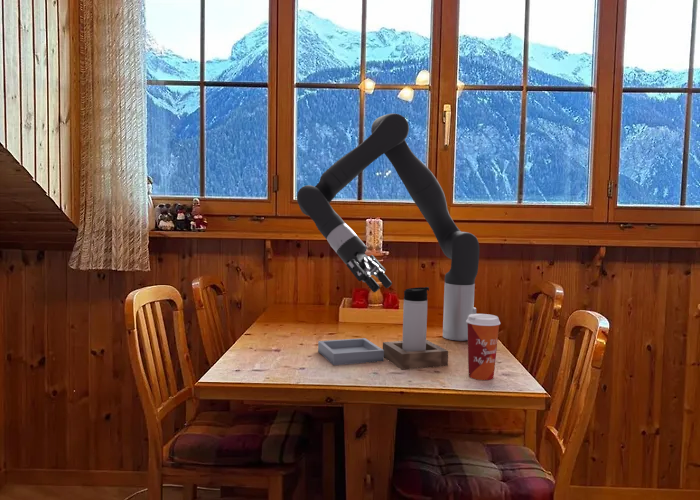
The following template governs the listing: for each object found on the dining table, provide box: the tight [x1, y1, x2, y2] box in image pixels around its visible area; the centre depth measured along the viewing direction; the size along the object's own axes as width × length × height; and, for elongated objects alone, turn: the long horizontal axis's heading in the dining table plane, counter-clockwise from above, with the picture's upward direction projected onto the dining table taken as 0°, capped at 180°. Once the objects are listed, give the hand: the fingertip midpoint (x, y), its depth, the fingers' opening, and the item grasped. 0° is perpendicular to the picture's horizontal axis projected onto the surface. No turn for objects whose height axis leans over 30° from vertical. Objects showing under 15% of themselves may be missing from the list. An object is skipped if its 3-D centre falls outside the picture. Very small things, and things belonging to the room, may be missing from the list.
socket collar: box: [382, 339, 449, 371], centre depth 159 cm, size 13×13×4 cm
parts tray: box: [317, 337, 385, 366], centre depth 162 cm, size 14×14×3 cm
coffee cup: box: [466, 313, 501, 381], centre depth 146 cm, size 8×8×15 cm
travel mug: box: [401, 286, 430, 352], centre depth 158 cm, size 6×7×20 cm
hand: (383, 288), depth 162 cm, fingers open, 8 cm apart
